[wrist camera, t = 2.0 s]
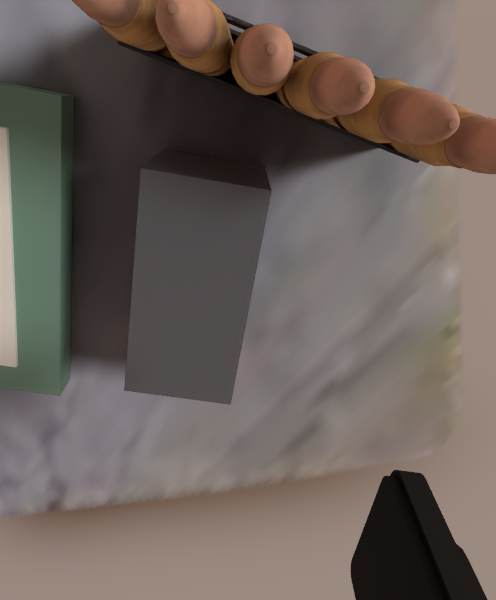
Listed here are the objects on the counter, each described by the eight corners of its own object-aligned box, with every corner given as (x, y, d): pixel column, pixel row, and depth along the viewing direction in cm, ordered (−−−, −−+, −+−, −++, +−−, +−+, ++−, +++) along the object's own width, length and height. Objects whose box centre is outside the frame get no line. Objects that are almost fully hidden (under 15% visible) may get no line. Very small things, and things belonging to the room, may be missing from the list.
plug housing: (163, 149, 20) (140, 168, 15) (265, 166, 20) (271, 190, 16) (147, 331, 24) (124, 390, 19) (232, 343, 24) (230, 404, 20)
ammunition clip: (141, 51, 18) (-4, 3, 8) (154, -1, 18) (12, -136, 7) (383, 147, 20) (550, 222, 9) (404, 103, 19) (611, 128, 8)
